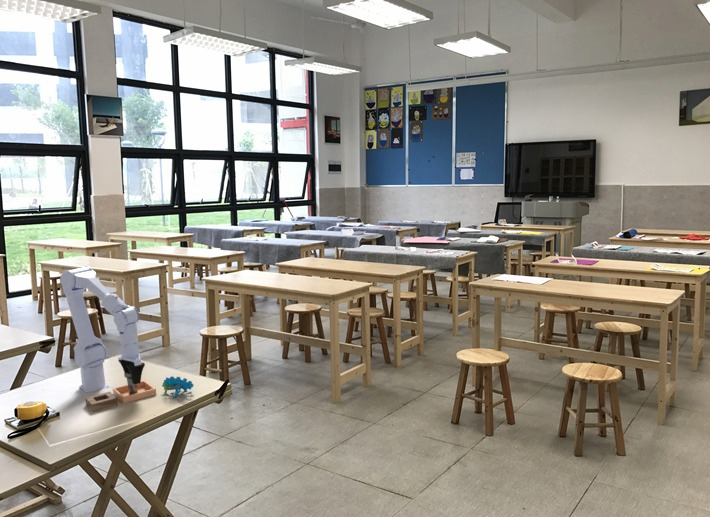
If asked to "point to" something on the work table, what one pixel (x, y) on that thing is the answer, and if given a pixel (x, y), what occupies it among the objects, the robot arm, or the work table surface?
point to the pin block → (101, 401)
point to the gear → (176, 384)
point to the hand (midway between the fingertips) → (133, 380)
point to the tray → (143, 392)
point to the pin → (130, 384)
